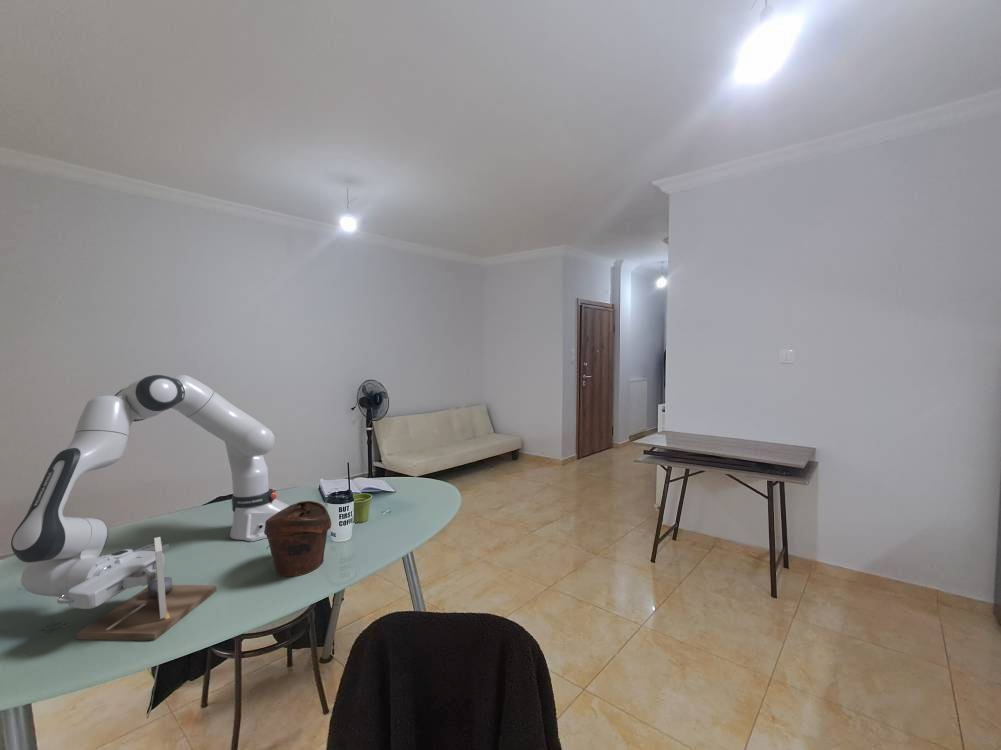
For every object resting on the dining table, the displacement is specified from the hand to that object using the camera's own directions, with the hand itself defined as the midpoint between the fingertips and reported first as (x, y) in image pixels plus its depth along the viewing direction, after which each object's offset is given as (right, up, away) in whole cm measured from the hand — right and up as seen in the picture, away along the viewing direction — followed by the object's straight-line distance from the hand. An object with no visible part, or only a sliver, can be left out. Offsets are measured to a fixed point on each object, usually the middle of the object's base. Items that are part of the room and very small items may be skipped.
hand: (151, 578), depth 107 cm
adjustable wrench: (-35, -9, +32) cm, 49 cm away
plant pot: (+31, -6, +60) cm, 68 cm away
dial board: (-2, -10, +3) cm, 10 cm away
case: (+24, -8, +26) cm, 36 cm away
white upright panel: (-1, -8, +4) cm, 9 cm away
